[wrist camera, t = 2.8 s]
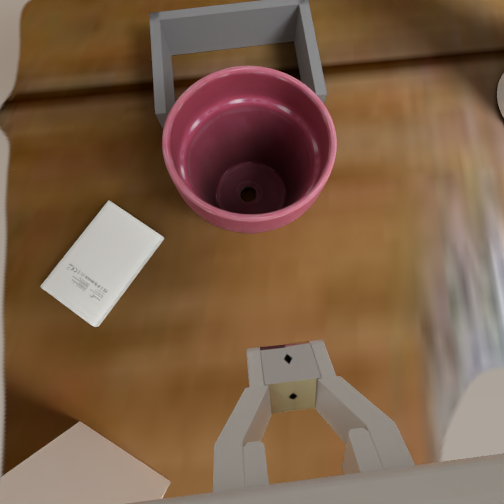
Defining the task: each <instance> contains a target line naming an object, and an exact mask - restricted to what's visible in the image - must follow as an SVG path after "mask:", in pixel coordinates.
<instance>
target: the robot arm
mask: <svg viewBox="0 0 504 504" xmlns="http://www.w3.org/2000/svg"><path fill="white" fill-rule="evenodd" d="M497 101H498V105H499V109H500V111H501V114H502V116H503V118H504V73H503V74H502V76H501V78H500V80H499V83H498V88H497ZM247 364H248V376H249V388H245V390H244V392H243V394H242V395H241V397H240V399H239V401H238V403H237V405H236V406H235V408H234V410H233V412H232V414H231V416H230V417H229V419H228V421H227V423H226V425H225V427H224V428H223V430H222V432H221V434H220V436H219V438H218V439H217V441H216V443H215V445H214V471H213V492H210V493H202V494H195V495H187V496H180V497H172V498H165V499H157V500H149V501H142V502H134V503H127V504H504V454H497V455H490V456H482V457H474V458H467V459H459V460H451V461H444V462H436V463H429V464H421V465H415V464H414V461H413V459H412V457H411V455H410V453H409V451H408V449H407V447H406V445H405V443H404V440H403V438H402V436H401V434H400V432H399V430H398V428H397V426H396V424H395V422H394V421H393V420H391V419H390V418H389V417H388V416H387V415H385V414H384V413H383V412H382V411H381V410H380V409H378V408H377V407H376V406H375V405H374V404H373V403H371V402H370V401H369V400H368V399H367V398H365V397H364V396H363V395H362V394H361V393H360V392H358V391H357V390H356V389H355V388H354V387H352V386H351V385H350V384H349V383H348V382H347V381H345V380H344V379H343V378H342V377H341V376H337V377H336V374H335V371H334V368H333V366H332V363H331V360H330V357H329V355H328V352H327V349H326V346H325V344H324V342H323V340H316V341H305V342H298V343H291V344H284V345H278V346H267V347H260V348H259V347H257V348H248V349H247ZM311 408H316V410H317V411H318V413H319V414H320V415H321V416H322V417H323V418H324V419H325V421H326V422H327V423H328V424H329V425H330V426H331V428H332V429H333V430H334V431H335V432H336V433H337V435H338V436H339V437H340V438H341V439H342V440H343V442H344V443H345V444H346V448H345V453H344V458H343V463H342V469H343V473H344V475H338V476H330V477H323V478H315V479H308V480H300V481H293V482H285V483H277V484H270V485H269V480H268V472H267V464H266V456H265V447H264V444H263V443H262V442H261V441H262V439H263V436H264V433H265V431H266V428H267V426H268V423H269V420H270V418H271V414H272V413H279V412H285V411H291V410H301V409H311Z"/></svg>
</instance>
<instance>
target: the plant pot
mask: <svg viewBox="0 0 504 504" xmlns="http://www.w3.org/2000/svg"><path fill="white" fill-rule="evenodd" d="M336 149H337V141H336V132H335V128H334V124H333V121H332V119H331V116H330V114H329V112H328V110H327V109H326V107H325V105H324V104H323V102H322V101H321V100H320V99H319V97H318V96H317V95H316V94H315V93H314V92H313V91H312V90H311V89H310V88H309V87H307V86H306V85H305V84H303V83H302V82H301V81H299V80H297V79H296V78H294V77H292V76H290V75H288V74H286V73H283V72H281V71H278V70H274V69H271V68H266V67H259V66H238V67H231V68H226V69H223V70H219V71H216V72H214V73H211V74H209V75H207V76H205V77H203V78H202V79H200V80H198V81H197V82H195V83H194V84H193V85H191V86H190V87H189V88H188V89H187V90H186V91H184V93H183V94H182V95H181V96H180V97H179V98H178V99H177V101H176V102H175V104H174V105H173V107H172V108H171V110H170V112H169V114H168V116H167V119H166V122H165V125H164V130H163V135H162V151H163V157H164V161H165V164H166V167H167V170H168V172H169V174H170V177H171V179H172V181H173V183H174V185H175V186H176V188H177V190H178V192H179V193H180V195H181V196H182V198H183V199H184V201H185V202H186V204H187V205H188V206H189V207H190V208H191V209H192V210H193V211H194V212H195V213H196V214H197V215H198V216H200V217H201V218H202V219H204V220H206V221H207V222H209V223H211V224H213V225H215V226H217V227H219V228H222V229H225V230H229V231H234V232H240V233H260V232H266V231H270V230H274V229H277V228H280V227H282V226H285V225H287V224H289V223H291V222H292V221H294V220H296V219H297V218H298V217H300V216H301V215H302V214H303V213H304V212H305V211H307V210H308V209H309V207H310V206H311V205H312V204H313V203H314V201H315V200H316V199H317V197H318V196H319V194H320V192H321V191H322V189H323V187H324V185H325V184H326V182H327V180H328V178H329V175H330V173H331V170H332V167H333V164H334V160H335V156H336ZM246 188H251V189H253V190H254V191H255V193H256V197H255V199H254V200H252V201H250V202H246V201H244V200H243V199H242V198H241V196H240V194H241V192H242V191H243V190H244V189H246Z"/></svg>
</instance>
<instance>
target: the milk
mask: <svg viewBox="0 0 504 504" xmlns="http://www.w3.org/2000/svg"><path fill="white" fill-rule="evenodd" d="M170 483H171V481H169V480H168V479H166V478H165V477H163V476H162V475H160V474H159V473H157V472H156V471H154V470H153V469H151V468H150V467H148V466H147V465H145V464H144V463H142V462H141V461H139V460H138V459H136V458H135V457H133V456H132V455H130V454H128V453H127V452H125V451H124V450H122V449H121V448H119V447H118V446H116V445H115V444H113V443H112V442H110V441H109V440H107V439H106V438H104V437H103V436H101V435H100V434H98V433H97V432H95V431H94V430H92V429H91V428H89V427H88V426H86V425H85V424H83V423H82V422H80V421H79V422H78V423H77V424H75V425H74V426H72V427H71V428H70V429H68V430H67V431H65V432H64V433H62V434H61V435H60V436H58V437H57V438H55V439H54V440H53V441H51V442H50V443H48V444H47V445H46V446H44V447H43V448H41V449H40V450H38V451H37V452H36V453H34V454H33V455H31V456H30V457H29V458H27V459H26V460H24V461H23V462H21V463H20V464H19V465H17V466H16V467H14V468H13V469H12V470H10V471H9V472H7V473H6V474H5V475H3V476H2V477H0V504H127V503H134V502H142V501H149V500H157V499H162V497H163V496H164V494H165V492H166V490H167V488H168V486H169V484H170Z"/></svg>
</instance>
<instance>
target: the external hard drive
mask: <svg viewBox="0 0 504 504" xmlns="http://www.w3.org/2000/svg"><path fill="white" fill-rule="evenodd" d="M163 240H164V237H163V236H161V235H160V234H158V233H157V232H156V231H154V230H153V229H151V228H150V227H148V226H147V225H145V224H144V223H142V222H141V221H139V220H138V219H136V218H135V217H133V216H132V215H130V214H129V213H127V212H126V211H124V210H123V209H121V208H120V207H118V206H117V205H115V204H114V203H112V202H111V201H110V200H108V202H107V203H106V204H105V205H104V207H103V208H102V209H101V210H100V212H99V213H98V214H97V215H96V217H95V218H94V219H93V220H92V222H91V223H90V224H89V226H88V227H87V228H86V229H85V231H84V232H83V233H82V234H81V236H80V237H79V238H78V239H77V241H76V242H75V243H74V244H73V246H72V247H71V248H70V249H69V251H68V252H67V253H66V254H65V256H64V257H63V258H62V259H61V261H60V262H59V263H58V265H57V266H56V267H55V268H54V270H53V271H52V272H51V273H50V275H49V276H48V277H47V278H46V280H45V281H44V282H43V283H42V285H41V286H40V287H41V288H42V289H43V290H45V291H46V292H48V293H49V294H50V295H52V296H53V297H54V298H56V299H57V300H58V301H60V302H61V303H62V304H64V305H65V306H66V307H68V308H69V309H70V310H72V311H73V312H74V313H76V314H77V315H78V316H80V317H81V318H82V319H84V320H85V321H86V322H88V323H89V324H90V325H92V326H94V327H99V326H100V324H101V323H102V322H103V320H104V319H105V318H106V316H107V315H108V314H109V312H110V311H111V310H112V308H113V307H114V306H115V304H116V303H117V302H118V300H119V299H120V298H121V296H122V295H123V294H124V292H125V291H126V290H127V288H128V287H129V286H130V284H131V283H132V281H133V280H134V279H135V277H136V276H137V275H138V273H139V272H140V271H141V269H142V268H143V267H144V265H145V264H146V263H147V261H148V260H149V259H150V257H151V256H152V255H153V253H154V252H155V251H156V249H157V248H158V247H159V245H160V244H161V243H162V241H163Z"/></svg>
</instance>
